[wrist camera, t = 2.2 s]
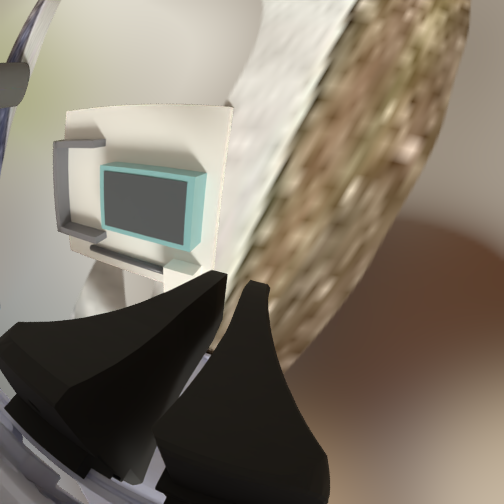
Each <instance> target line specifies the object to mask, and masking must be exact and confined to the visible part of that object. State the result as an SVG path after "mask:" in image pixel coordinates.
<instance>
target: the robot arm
mask: <svg viewBox="0 0 504 504" xmlns="http://www.w3.org/2000/svg"><path fill="white" fill-rule="evenodd" d="M227 275H228V274H225V273H222V272H218V271H214V270H210V271H208V272H206V273H204V274H202V275H200V276H198V277H196V278H194V279H192V280H190V281H188V282H186V283H184V284H182V285H180V286H178V287H176V288H174V289H171V290H169V291H167V292H165V293H162V294H160V295H158V296H155V297H153V298H151V299H148V300H146V301H143V302H141V303H138V304H135V305H132V306H129V307H126V308H123V309H119V310H116V311H112V312H108V313H103V314H99V315H94V316H90V317H85V318H79V319H72V320H63V321H54V322H53V321H52V322H18V323H16V324H15V325H14V326H12V327H11V328H10V329H9V330H8V331H7V332H6V333H5V334H3V335H2V336H1V337H0V369H1V371H2V373H3V374H4V376H5V377H6V379H7V380H8V382H9V383H10V385H11V386H12V387H13V389H14V390H15V392H16V393H17V394H16V395H15V396H14V397H13V398H12V399H11V400H10V398H8V396H7V395H6V394H5V393H4V392H3V391H2V390H1V388H0V504H84V503H82V502H81V501H79V500H77V499H76V498H74V497H73V496H72V495H70V494H69V493H68V492H66V491H65V490H63V489H62V488H61V487H59V486H58V485H57V482H58V481H59V480H60V475H59V474H57V473H56V472H55V471H54V470H53V469H52V468H51V467H50V466H48V465H47V464H46V463H45V462H44V461H42V460H41V459H40V458H39V457H38V456H37V455H35V454H34V453H33V452H32V451H31V450H30V449H29V448H28V447H26V446H25V445H24V444H23V441H22V440H23V437H22V435H23V436H24V437H25V438H26V439H28V441H29V442H30V443H32V444H33V445H34V446H35V447H36V448H37V449H38V450H39V451H40V452H41V453H42V454H44V455H45V456H46V457H47V458H48V459H49V460H51V461H52V462H53V463H54V464H55V465H57V466H58V467H59V468H60V469H62V470H63V471H64V472H66V473H67V474H68V475H70V476H71V477H72V478H74V479H75V480H76V481H77V483H78V485H79V487H80V489H81V490H82V492H83V494H84V496H85V498H86V499H87V501H88V503H89V504H327V503H328V498H329V495H330V474H329V465H328V459H327V455H326V453H325V452H324V450H323V449H322V447H321V446H320V445H319V443H318V442H317V440H316V439H315V437H314V436H313V434H312V432H311V431H310V429H309V427H308V426H307V424H306V422H305V420H304V418H303V416H302V415H301V413H300V411H299V409H298V407H297V405H296V403H295V401H294V398H293V396H292V394H291V392H290V390H289V388H288V385H287V383H286V381H285V378H284V375H283V373H282V370H281V367H280V364H279V361H278V358H277V354H276V351H275V347H274V343H273V338H272V333H271V328H270V320H269V312H268V296H269V291H270V287H269V286H268V284H264V283H260V282H256V281H252V280H250V281H249V282H248V284H247V285H246V286H245V288H244V289H243V292H242V294H241V297H240V299H239V302H238V304H237V307H236V309H235V312H234V314H233V317H232V319H231V322H230V324H229V327H228V329H227V331H226V333H225V334H224V336H223V337H222V339H221V341H220V342H219V344H218V345H217V347H216V349H215V350H214V352H213V353H212V355H210V354H207V353H206V351H207V349H208V348H209V346H210V345H211V343H212V341H213V339H214V337H215V335H216V333H217V330H218V328H219V326H220V323H221V321H222V318H223V309H224V301H225V292H226V284H227Z"/></svg>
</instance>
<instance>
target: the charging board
mask: <svg viewBox="0 0 504 504" xmlns="http://www.w3.org/2000/svg"><path fill="white" fill-rule="evenodd" d="M233 110H234V108H232V107H225V106H211V105H193V104H192V105H191V104H136V105H119V106H106V107H96V108H87V109H79V110H72V111H67V113H66V125H65V140H59V141H54V142H53V180H54V198H55V210H56V219H57V228H58V231H59V232H62V233H65V234H67V235H69V240H70V247H71V250H72V251H75V252H77V253H80V254H83V255H85V256H88V257H90V258H93V259H96V260H98V261H101V262H104V263H107V264H109V265H112V266H115V267H118V268H120V269H123V270H126V271H129V272H132V273H135V274H138V275H141V276H144V277H147V278H150V279H153V280H156V281H159V282H162V283H163V284H164V293H165V292H167V291H169V290H171V289H174V288H176V287H178V286H180V285H182V284H184V283H186V282H188V281H190V280H192V279H194V278H196V277H198V276H200V275H202V274H204V273H206V272H208V271H210V270H214V265H215V254H216V244H217V235H218V225H219V216H220V208H221V199H222V191H223V182H224V175H225V167H226V159H227V152H228V145H229V137H230V130H231V124H232V117H233ZM111 162H125V163H135V164H144V165H153V166H161V167H169V168H177V169H184V170H191V171H198V172H204V173H207V179H206V189H205V199H204V210H203V221H202V233H201V243H199V244H198V245H197V246H196V247H195V248H194V249H193V250H192V251H191V252H187V251H183V250H180V249H176V248H172V247H168V246H165V245H161V244H157V243H153V242H150V241H146V240H142V239H139V238H135V237H131V236H128V235H124V234H120V233H117V232H113V231H110V230H106V229H102V226H101V208H100V165H103V164H107V163H111Z"/></svg>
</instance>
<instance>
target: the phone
mask: <svg viewBox="0 0 504 504" xmlns="http://www.w3.org/2000/svg"><path fill="white" fill-rule="evenodd" d="M206 179H207V173H204V172H198V171H191V170H184V169H177V168H169V167H161V166H153V165H144V164H135V163H125V162H111V163H107V164H103V165H100V208H101V226H102V229H106V230H110V231H113V232H117V233H120V234H124V235H128V236H131V237H135V238H139V239H142V240H146V241H150V242H153V243H157V244H161V245H165V246H168V247H172V248H176V249H180V250H183V251H187V252H191V251H192V250H193V249H194V248H195V247H196V246H197V245H198V244H199V243H201V233H202V221H203V210H204V199H205V189H206Z"/></svg>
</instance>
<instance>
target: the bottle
mask: <svg viewBox="0 0 504 504" xmlns="http://www.w3.org/2000/svg"><path fill="white" fill-rule="evenodd" d="M28 81H29V66H28V64H27V63H0V109H1V108H7V107H13V106H17V105H18V104H19V103H20V102H21V101H22V99H23V97H24V95H25V92H26V89H27V86H28Z"/></svg>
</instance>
